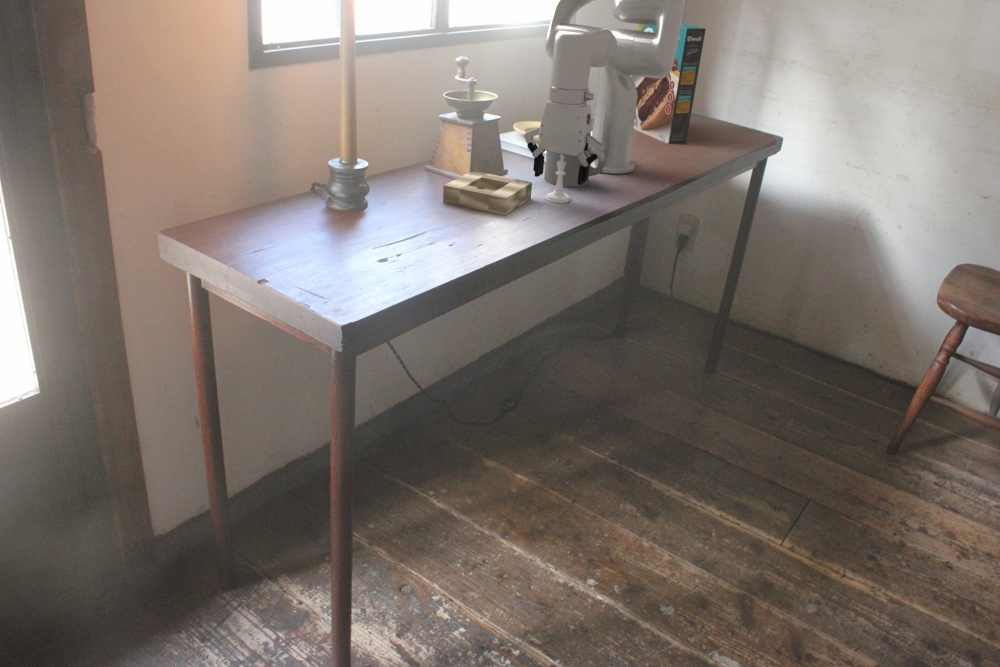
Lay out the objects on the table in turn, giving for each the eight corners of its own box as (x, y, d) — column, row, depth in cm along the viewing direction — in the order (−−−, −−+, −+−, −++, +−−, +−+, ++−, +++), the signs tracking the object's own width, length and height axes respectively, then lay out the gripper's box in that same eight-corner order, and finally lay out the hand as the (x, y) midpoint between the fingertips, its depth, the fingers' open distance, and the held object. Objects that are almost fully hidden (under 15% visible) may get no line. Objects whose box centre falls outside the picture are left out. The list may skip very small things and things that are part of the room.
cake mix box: (625, 125, 235) (639, 17, 221) (642, 124, 237) (657, 17, 223) (668, 143, 218) (687, 28, 204) (686, 142, 220) (705, 28, 206)
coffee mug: (535, 179, 180) (539, 135, 175) (559, 171, 187) (563, 128, 182) (585, 193, 173) (591, 147, 168) (608, 184, 180) (614, 140, 175)
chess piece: (550, 203, 165) (555, 156, 160) (543, 195, 169) (547, 149, 164) (572, 202, 166) (577, 155, 162) (564, 195, 170) (569, 149, 166)
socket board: (471, 186, 172) (472, 170, 170) (530, 198, 167) (532, 182, 165) (443, 201, 161) (443, 185, 160) (505, 215, 156) (506, 198, 155)
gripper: (615, 99, 158) (604, 182, 166) (535, 87, 164) (529, 168, 172) (603, 105, 152) (592, 191, 160) (521, 92, 158) (515, 176, 166)
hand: (559, 179), depth 166 cm, fingers open, 9 cm apart
